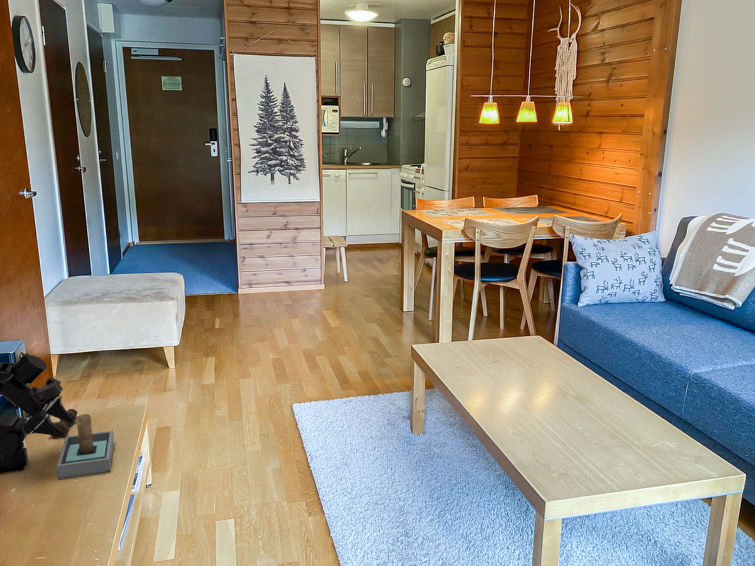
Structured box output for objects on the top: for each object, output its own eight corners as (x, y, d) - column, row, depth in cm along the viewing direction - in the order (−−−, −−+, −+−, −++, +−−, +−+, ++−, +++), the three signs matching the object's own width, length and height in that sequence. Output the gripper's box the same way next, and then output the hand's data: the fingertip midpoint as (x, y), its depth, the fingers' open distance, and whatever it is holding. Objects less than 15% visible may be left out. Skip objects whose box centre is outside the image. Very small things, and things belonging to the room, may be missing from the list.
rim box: (58, 479, 169) (56, 466, 168) (67, 448, 185) (65, 436, 184) (109, 472, 173) (108, 459, 172) (113, 442, 189) (112, 430, 188)
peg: (77, 460, 178) (73, 418, 175) (86, 454, 181) (82, 413, 178) (88, 462, 177) (84, 420, 174) (97, 456, 180) (93, 415, 177)
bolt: (75, 422, 206) (61, 442, 191) (61, 416, 205) (45, 436, 190) (83, 408, 205) (70, 427, 191) (69, 401, 204) (54, 420, 190)
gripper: (31, 386, 162) (80, 422, 167) (50, 362, 179) (94, 394, 184) (0, 417, 162) (51, 451, 167) (23, 389, 179) (67, 421, 184)
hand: (67, 427), depth 175 cm, fingers open, 9 cm apart
